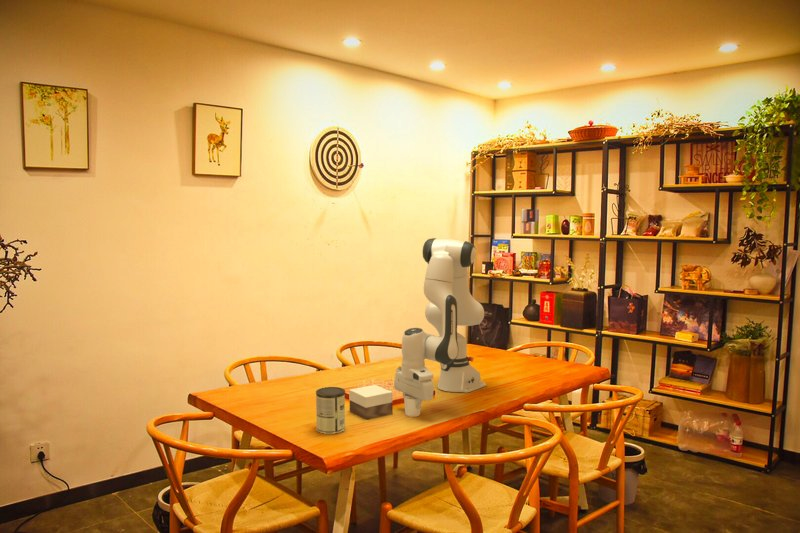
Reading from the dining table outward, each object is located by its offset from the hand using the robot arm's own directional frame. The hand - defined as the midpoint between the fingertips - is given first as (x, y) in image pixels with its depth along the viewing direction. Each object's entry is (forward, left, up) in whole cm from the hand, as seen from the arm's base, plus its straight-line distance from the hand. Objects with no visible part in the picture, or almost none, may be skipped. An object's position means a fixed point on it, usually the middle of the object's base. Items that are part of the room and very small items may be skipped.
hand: (412, 406), depth 238 cm
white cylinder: (0, 0, -3) cm, 3 cm away
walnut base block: (+12, -11, -4) cm, 17 cm away
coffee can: (+34, -4, -3) cm, 34 cm away
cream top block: (+12, -11, +2) cm, 16 cm away
